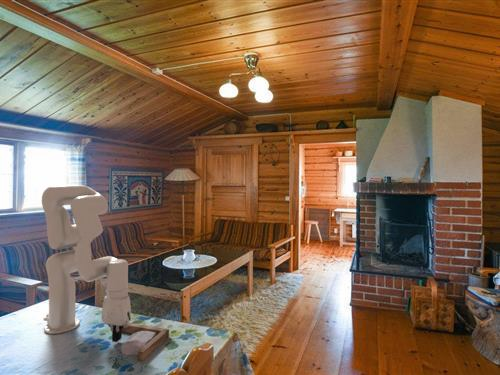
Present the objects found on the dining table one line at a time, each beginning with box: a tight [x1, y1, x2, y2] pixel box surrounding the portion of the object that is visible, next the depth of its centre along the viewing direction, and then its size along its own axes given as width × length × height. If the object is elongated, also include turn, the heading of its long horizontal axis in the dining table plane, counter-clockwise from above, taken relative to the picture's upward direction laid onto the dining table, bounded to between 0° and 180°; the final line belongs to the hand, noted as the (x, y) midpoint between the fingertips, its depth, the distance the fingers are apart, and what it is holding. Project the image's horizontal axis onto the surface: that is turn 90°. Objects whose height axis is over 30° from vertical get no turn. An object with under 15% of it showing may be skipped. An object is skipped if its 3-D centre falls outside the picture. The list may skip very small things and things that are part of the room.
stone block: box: [120, 331, 156, 356], centre depth 113 cm, size 12×5×10 cm
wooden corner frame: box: [122, 322, 170, 362], centre depth 115 cm, size 24×17×3 cm
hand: (116, 340), depth 115 cm, fingers closed
